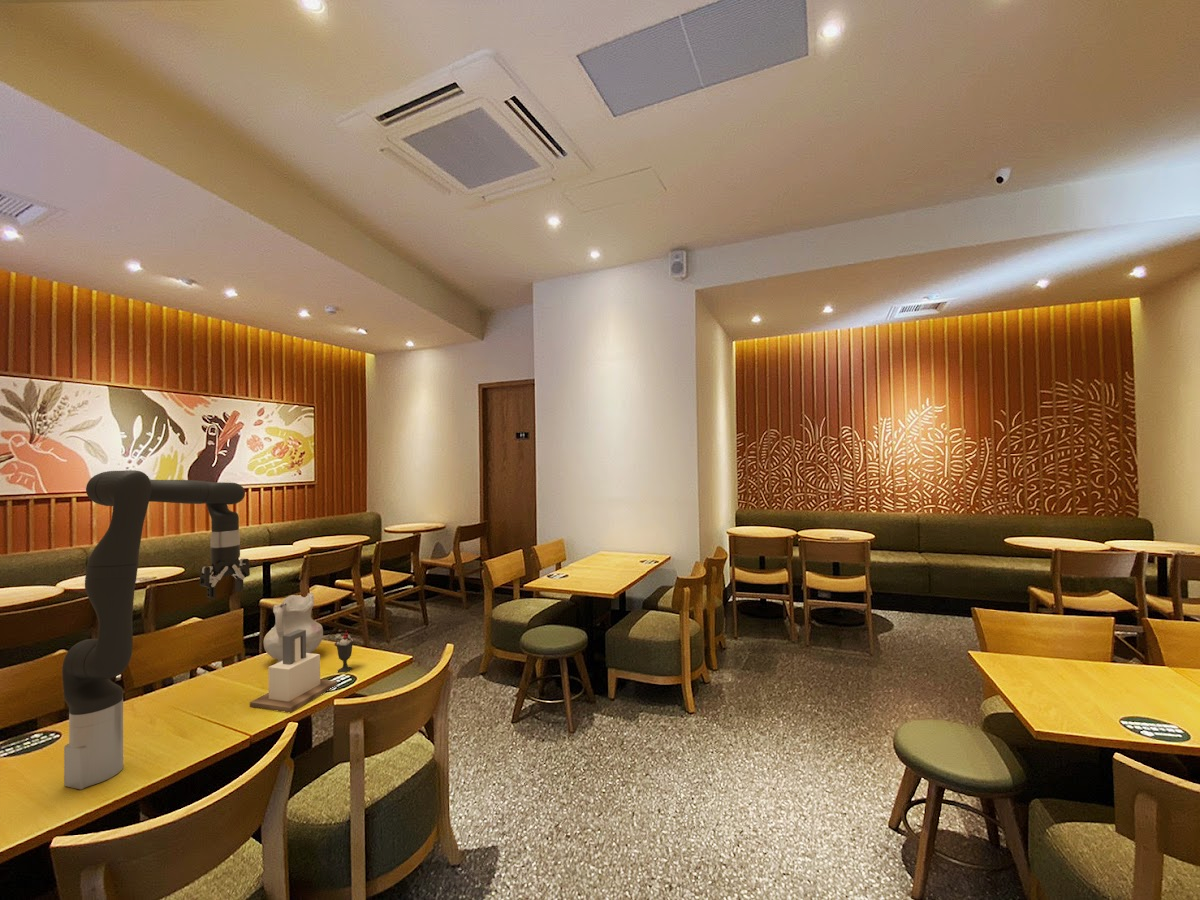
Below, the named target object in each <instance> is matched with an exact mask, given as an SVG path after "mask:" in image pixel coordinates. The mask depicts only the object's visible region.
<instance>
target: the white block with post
mask: <svg viewBox="0 0 1200 900" xmlns="http://www.w3.org/2000/svg"><path fill="white" fill-rule="evenodd" d="M320 679H321V654H319V653H313V652H311V653H306V658H304V659H301V646H300V637H299V638H297V639H294V640H293V664H291V665H288V664H283V661H281V662H279V663H275V664H272V665H270V666H268V693H269V699H274V700H281V701H288V702H289V701H291V700H293V699H294V698H296V697H298V696H300V695H302V694H303V693H305V692H307V691H309V690H311V689H312V688H314V687H316V686H318V685H320Z"/></svg>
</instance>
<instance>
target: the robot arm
mask: <svg viewBox="0 0 1200 900" xmlns="http://www.w3.org/2000/svg"><path fill="white" fill-rule="evenodd" d="M85 492H86V495H87V497H88V498H89V500H90V501H92V502H93V503H95V504H97V505H101V506H105V507H112V513H111V519H110V524H109V526H108V528H107V530H106V532H105V533H104V535H103V537H102V538H101V539H100V540H99V542H98V543H97V544H96V545H95V547H94V549H93V550H92V552H91V553H90V555H89V557H88V559H87V563H86V570H85V571H86V572H85V578H84V590H85V593H86V596H87V598H88V600H89V602H90V604H91V605H92V608H93V609H94V611H95V614H96V616H97V622H98V632H97V638H86V639H84V640H80V641H79V642H77V643H75V644H74V645H73V646H71V647H70V649H69V650H68V651H67V652H66V654H65V656H64V659H63V662H62V669H61V673H62V676H61V677H62V687H63V688H62V689H63V699H64V701H65V704H66V705H67V706H68V710H69V711H68V725H69V726H68V743H67V744H65V745H64V746H63V750H64V751H63V760H64V761H63V765H64V766H63V779H64V781H63V783H64V784H63V786H65V787H69V788H72V789H76V790H83V789H85V788H88V787H90V786H94V785H96V784H99V783H102V782H105V781H107V780H109V779H111V778H113V777H115V776H116V775H118V774H119V773H120V772H121V771H122V770H123V768H124V689H123V688H122V686H121V685H119V684H117V683H115V682H114V681H112V680H111V679H113V678H116V677H118V676H119V675H121V674H122V673H124V671H125V670H126V668H127V667H128V666H129V663H130V661H131V659H132V653H133V647H134V646H133V645H134V644H133V643H134V641H133V639H134V638H133V637H134V636H133V635H134V633H133V611H134V600H135V589H136V588H135V587H136V582H137V578H138V577H137V576H138V567H139V558H140V557H139V555H140V547H141V542H142V541H141V540H142V536H143V527H144V524H145V519H146V514H147V511H148V508H149V503H150V502H152V503H154V502H155V503H156V502H157V503H173V504H188V505H189V504H190V505H202V504H206V507H207V510H208V513H209V516H210V518H211V520H210V521H211V533H210V561H211V565H210V566H201V567H200V570H199V586H200V587H205V588H206V597H207V598H208V599H210V600H214V599H216V598H217V596H216V595H217V594H216V593H217V592H216V591H217V589H216V588H217V587H216V585H217V583H218V582H219V581H221V579H222V578H225V577H227V576H232V577H234V579H235V580H234V591H235V592H236V593H237V592H239V593H240V592H243V590H244V580H245V578H246V577H250V576H251V575H250V574H251V573H250V572H251V570H250V559H249V558H240V557H241V534H240V524H239V523H240V518H239V517H240V516H239V514H238V513H237V512H235V511H233V510H230V509H229V506H228V505H236V504H238V503H240V502H242V501H243V499H245V496H246V490H245V488H244V487H243V485H241V484H239V483H237V482H223V481H222V482H219V481H217V482H214V481H213V482H211V481H205V480H193V479H192V480H191V479H150V477H149V475H147V474H146V473H145V472H143V471H140V470H135V469H133V470H131V469H130V470H129V469H128V470H108V471H102V472H100V473H97V474H96V475H94V476H92V477H91V478H90V479H89V480H88V482H87V483H86V486H85ZM238 567H239V568H240V569H239V568H238Z"/></svg>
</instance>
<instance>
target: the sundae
mask: <svg viewBox="0 0 1200 900" xmlns="http://www.w3.org/2000/svg"><path fill="white" fill-rule="evenodd" d="M347 631H348V630H347V629H346V630H345V632H344V633H343V634H342V635H341V636H340V638H339V640H338V641H335V643H334V644H333V645H334V647H336V649H337V656H338V659H339V660H340V661H341V662H342V667H340V668H339V669H337V671H338V672H337V673H339V672H345V673H348V672H347V671H349V672H351V671H352V670H353V669H354V667H353V666H348V659H350V658H351V656H352V653H353V652H352V650H353V645H354V643H355V642H356V640H355V639H354V638H352V637H351V635H350V634H349V633H348V632H347ZM350 670H351V671H350Z"/></svg>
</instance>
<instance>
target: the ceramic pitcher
mask: <svg viewBox="0 0 1200 900" xmlns="http://www.w3.org/2000/svg"><path fill="white" fill-rule="evenodd" d="M314 596H315V595H314V593H313V592H307V595H306V596H302V595H297V594H296V595H295V594H291V595H288V596H286V597H285V598H284V599H283V600H282V602H281V604H274V605H273V608H272V612H273V614H274V617H275V621H274V622H275V623H274V626H273V627H272V628H271V629H270V630H269V631H268V632H267V633H266V634H265V636H264V638H263V648H264V651H265V652H266V654H267V655H269V656H270V657H271V658H272V659H275V660H277V661H276V663H279V662H281V661H283V635H286V634H288V633H291V632H293V631H296V630H298V629H300V630H306V653H313V652H314V651H316V649H317V648H319V646H320V644H321V642H323V641H322V640H323V637H324V629H323V625H322V624H321V623H319V622H317V621H315V620H314V619H313V618H312V617H311V616H312V615H311V614H312V609H313V608H314V606H315V597H314ZM276 663H275V664H276Z"/></svg>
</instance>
